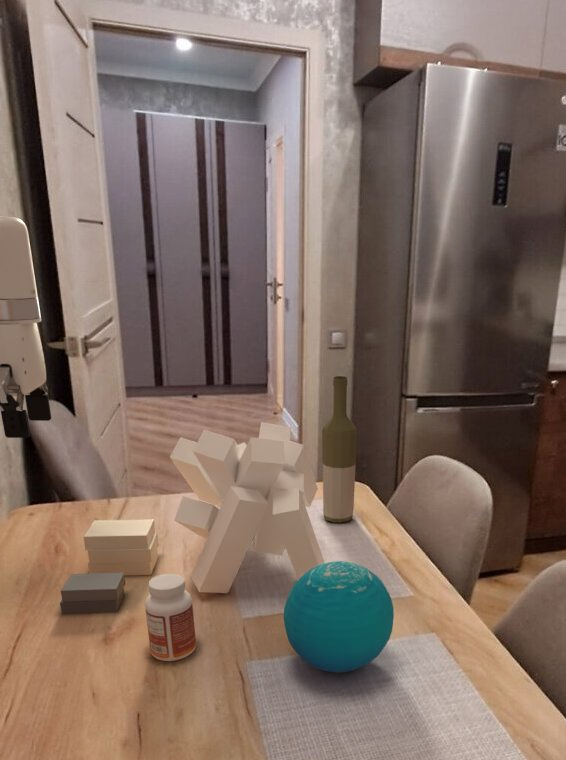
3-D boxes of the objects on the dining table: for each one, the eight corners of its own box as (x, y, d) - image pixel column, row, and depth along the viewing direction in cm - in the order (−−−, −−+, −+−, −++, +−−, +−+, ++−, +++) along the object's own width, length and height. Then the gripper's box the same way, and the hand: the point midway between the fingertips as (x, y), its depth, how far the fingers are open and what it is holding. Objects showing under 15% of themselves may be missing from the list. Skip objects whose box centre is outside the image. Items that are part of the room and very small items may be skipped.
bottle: (335, 528, 137) (336, 382, 126) (315, 517, 142) (315, 376, 130) (361, 520, 142) (365, 378, 130) (341, 510, 146) (343, 372, 135)
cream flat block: (85, 550, 111) (83, 536, 110) (95, 533, 118) (94, 520, 117) (148, 548, 113) (146, 535, 112) (155, 532, 119) (153, 519, 118)
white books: (89, 577, 113) (85, 550, 111) (99, 558, 119) (96, 533, 118) (153, 575, 115) (150, 549, 113) (160, 557, 121) (157, 532, 119)
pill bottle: (196, 636, 98) (191, 569, 94) (195, 660, 93) (190, 590, 88) (152, 640, 97) (144, 572, 92) (148, 665, 91) (140, 593, 87)
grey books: (61, 614, 102) (57, 591, 100) (72, 596, 107) (68, 573, 105) (119, 612, 103) (116, 589, 102) (126, 594, 108) (124, 572, 107)
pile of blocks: (151, 563, 130) (78, 431, 103) (272, 481, 143) (235, 345, 116) (258, 678, 114) (204, 557, 87) (384, 574, 126) (372, 440, 99)
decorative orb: (413, 667, 94) (420, 572, 88) (328, 711, 84) (329, 607, 78) (346, 622, 104) (348, 534, 98) (263, 657, 94) (260, 562, 88)
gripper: (4, 304, 102) (23, 414, 108) (-47, 316, 86) (-21, 444, 92) (57, 305, 103) (72, 414, 109) (16, 318, 87) (37, 444, 94)
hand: (29, 428), depth 101 cm, fingers open, 9 cm apart
